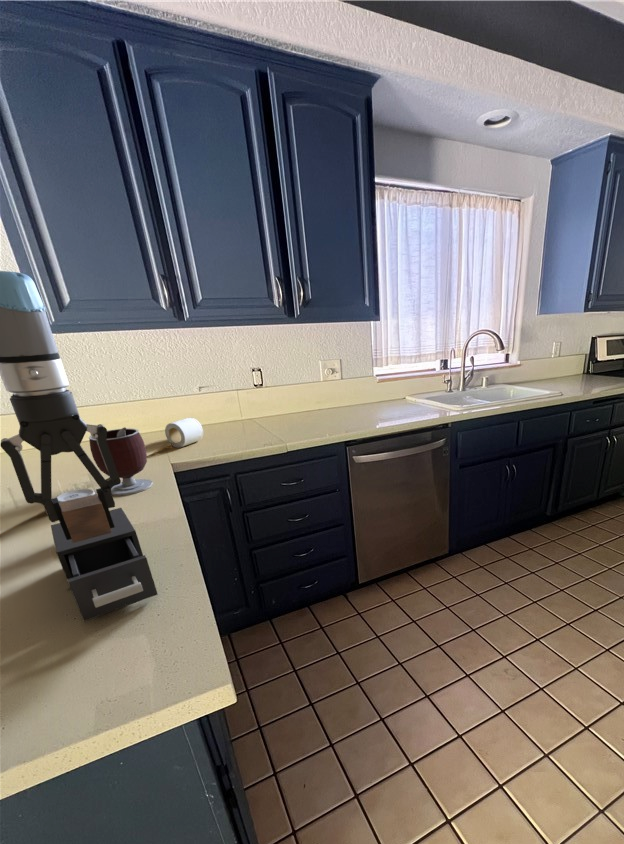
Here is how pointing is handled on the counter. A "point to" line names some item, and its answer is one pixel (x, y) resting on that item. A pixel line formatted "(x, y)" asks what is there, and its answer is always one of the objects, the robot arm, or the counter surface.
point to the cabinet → (93, 539)
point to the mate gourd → (124, 459)
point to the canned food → (75, 494)
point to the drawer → (109, 578)
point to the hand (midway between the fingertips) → (90, 530)
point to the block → (85, 518)
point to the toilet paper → (183, 432)
